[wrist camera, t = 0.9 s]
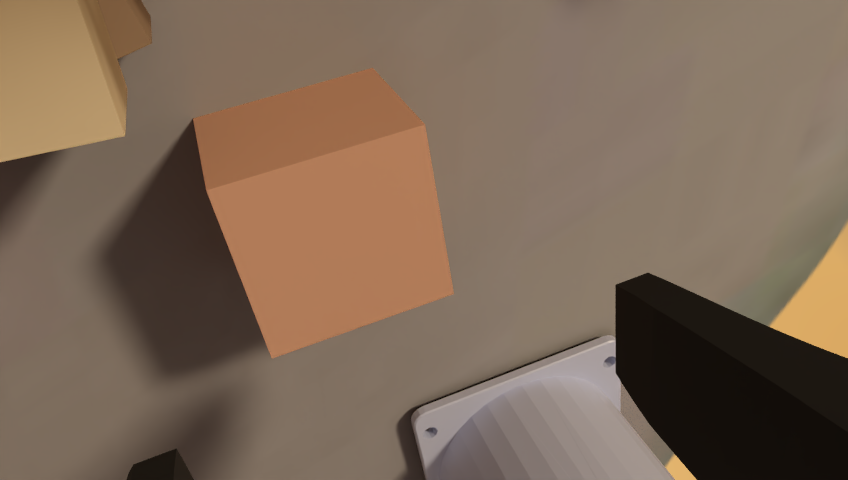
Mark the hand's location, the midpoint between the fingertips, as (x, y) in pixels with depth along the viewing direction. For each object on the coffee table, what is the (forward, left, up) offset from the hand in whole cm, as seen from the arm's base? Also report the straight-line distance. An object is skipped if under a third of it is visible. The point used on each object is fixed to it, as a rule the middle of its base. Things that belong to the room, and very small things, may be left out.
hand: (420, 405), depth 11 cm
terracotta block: (0, 0, -9) cm, 9 cm away
